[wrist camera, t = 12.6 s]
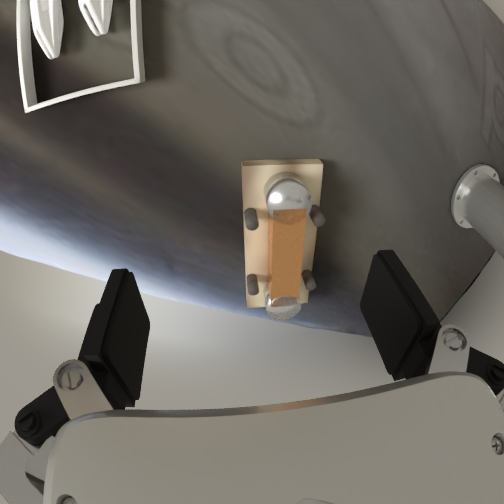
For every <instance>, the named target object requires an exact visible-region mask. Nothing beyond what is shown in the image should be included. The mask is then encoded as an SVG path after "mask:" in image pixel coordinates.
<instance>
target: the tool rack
mask: <svg viewBox="0 0 504 504" xmlns="http://www.w3.org/2000/svg"><path fill="white" fill-rule="evenodd" d="M279 172H291V173H294V174H296V175H297V176H298V177H299V178H300V179H301V180H302V182H303V183H304V185H305V187H306V189H307V190H308V192H309V194H310V196H311V198H312V207H311V210H310V212H309V214H308V215H307V217H306V224H305V236H304V247H303V257H302V267H301V277H300V286H299V295H298V296H299V299H300V303H307V301H308V294H309V291H311V290H314V289H315V288H316V283H315V280H314V278H313V275H312V265H313V258H314V250H315V241H316V233H317V227H321V226H323V225H324V224H325V218H324V216H323V214H322V212H321V211H320V209H319V205H320V195H321V185H322V173H323V163H322V162H321V161H320V160H319V159H277V160H250V161H242V190H243V218H244V245H245V271H246V296H247V307H248V308H254V307H266V305H265V299H264V293H263V290H264V287H265V285H266V284H267V268H268V208H267V204H266V201H265V197H264V186H265V184H266V182H267V180H268V179H269V178H270V177H271V176H273V175H274V174H276V173H279Z"/></svg>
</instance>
